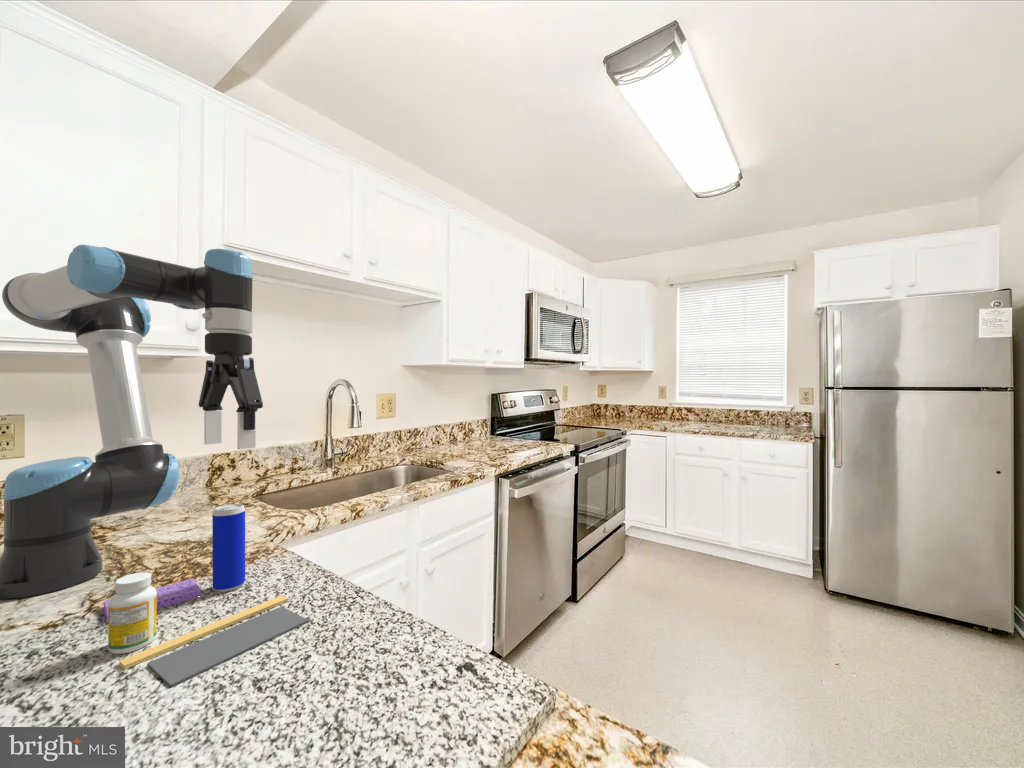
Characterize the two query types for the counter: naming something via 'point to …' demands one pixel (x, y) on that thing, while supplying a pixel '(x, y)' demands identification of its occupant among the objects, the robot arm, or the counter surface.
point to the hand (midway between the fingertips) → (228, 446)
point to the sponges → (171, 594)
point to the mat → (224, 646)
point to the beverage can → (228, 547)
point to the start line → (199, 633)
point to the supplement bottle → (132, 614)
